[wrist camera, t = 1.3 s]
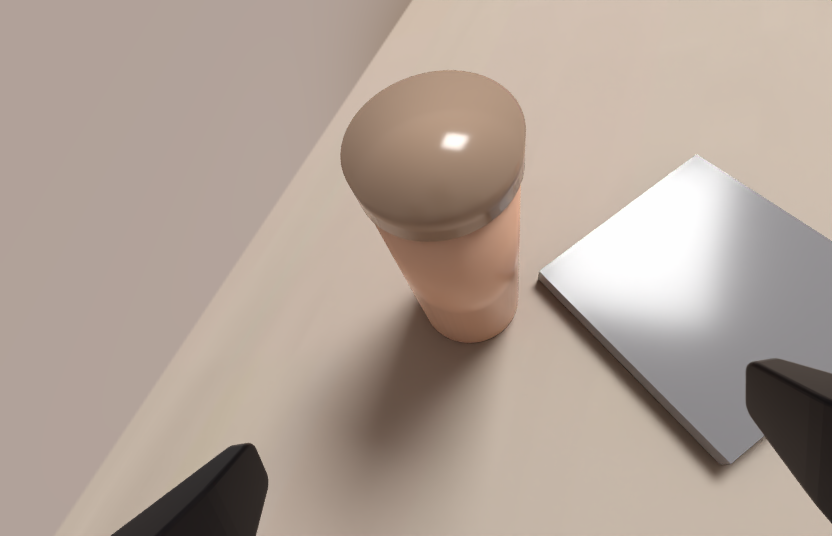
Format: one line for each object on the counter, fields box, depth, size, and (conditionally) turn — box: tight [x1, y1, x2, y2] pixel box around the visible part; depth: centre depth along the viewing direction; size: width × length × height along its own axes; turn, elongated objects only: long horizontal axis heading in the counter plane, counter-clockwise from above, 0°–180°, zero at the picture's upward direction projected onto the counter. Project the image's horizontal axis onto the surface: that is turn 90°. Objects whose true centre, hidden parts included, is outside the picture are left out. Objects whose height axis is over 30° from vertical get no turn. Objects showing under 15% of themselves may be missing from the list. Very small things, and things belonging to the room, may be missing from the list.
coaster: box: [538, 154, 832, 464], centre depth 20 cm, size 11×11×1 cm
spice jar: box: [340, 70, 526, 343], centre depth 17 cm, size 5×5×12 cm
